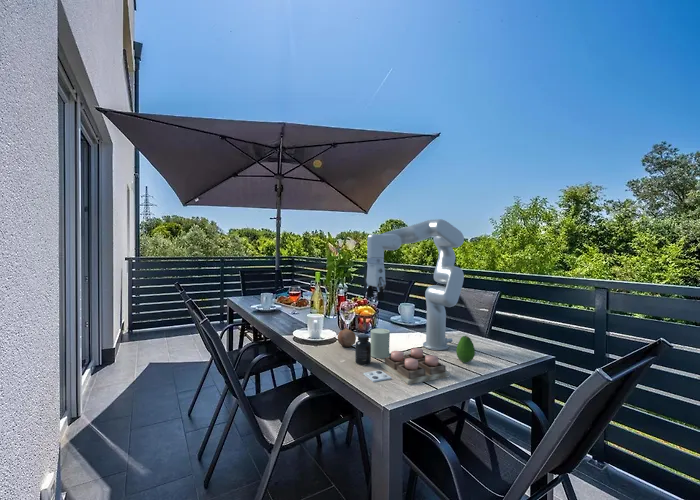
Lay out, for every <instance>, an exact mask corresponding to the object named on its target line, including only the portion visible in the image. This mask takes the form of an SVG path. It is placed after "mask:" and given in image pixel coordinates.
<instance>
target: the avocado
mask: <svg viewBox="0 0 700 500" xmlns="http://www.w3.org/2000/svg"><path fill="white" fill-rule="evenodd" d="M455 350H456V357H457V358H458V360H459V361H460V362H462V363H466V364H467V363H469V362H472V360H474V358H475V355H476V349H475V345H474V343H473V341H472V339H471V338H470V337H469V336H467V335H463V336H461V337H460V339H459V341H458V342H457V345H456V349H455Z"/></svg>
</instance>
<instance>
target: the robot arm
mask: <svg viewBox="0 0 700 500" xmlns="http://www.w3.org/2000/svg"><path fill="white" fill-rule="evenodd" d="M429 238H433V243H434V245H435V246H436V248H437V252H438V258H437V262H436V264H435V265H436V266H435V268H434V272H433V280H434V281H435V283H438V284H443V285H445V286H443V285H438V284H433V285H429V286H428V287H427V288H426V290H425V292H424V293H425V294H424V297H425V301H426V302H425V304H426V325H425V326H426V331H425V332H426V333H425V334H426V336H425V338H426V339H425V341H424V342H423V343H422V347H423V348H426V349H428V350H431V351H432V350H433V351H446V350H448V349H449V345H448V343H452V342H453V338H451V337H449V338H447V337H446V325H447V324H446V322H447V313H446V312H447V311H446V307H447V308H451V307H455V306H456V305H457V303H458V302H459V299H460V295H461V291H462V289H463V285H464V279H465V274H464V271H463V270H462V268H460V267H459V266H455V262H456V253H455V250H454V249H453V248H460V247H461V246H462V245H463V244H464V242H465V236H464V234H463V232H462V231H461V230H460V229H458V228H456V227H455V226H454V225H453V224H452V223H450V222H448V221H447V220H445V219H442V218H441V219H440V218H438V219H437V218H436V219H428V220H427V219H426V220H424V221H421V222H418V223H416V224H412V225H409V226H403V227H400V228H398V229H394V230H389V231H386V232H384V233H380V234H379V233H371V234H368V236H367V239H366V241H367V244H366V245H367V246H366V247H367V249H366V251H367V252H366V254H367V258H366V259H367V260H366V263H367V268H366V278H365V284H366V287H365V288H366V297H367V298H373V297H374V288H373V287H375V288H376V289H377V291H376V300H377V302H381V301H384V300H385V291H386V290H385V289H386V287H387V286H386V285H387V282H386V269H385V265H384V264H385V259H384V258H385V251H396V250H398V249H399V248H400V247H402V246H401V245H405V244H406V245H409V244H415V243H417V242H418V243H419V242H421V241H424V240H426V239H429Z"/></svg>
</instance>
